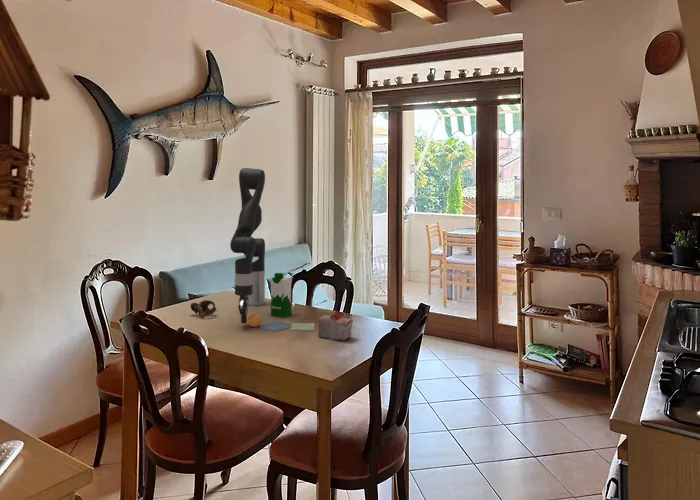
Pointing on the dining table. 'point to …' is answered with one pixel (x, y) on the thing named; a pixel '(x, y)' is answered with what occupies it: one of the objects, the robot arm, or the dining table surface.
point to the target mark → (274, 326)
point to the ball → (254, 320)
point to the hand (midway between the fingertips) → (244, 322)
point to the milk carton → (280, 295)
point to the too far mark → (302, 326)
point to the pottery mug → (203, 308)
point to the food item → (335, 327)
